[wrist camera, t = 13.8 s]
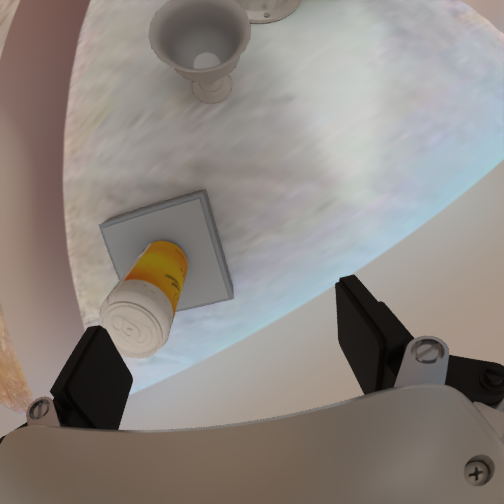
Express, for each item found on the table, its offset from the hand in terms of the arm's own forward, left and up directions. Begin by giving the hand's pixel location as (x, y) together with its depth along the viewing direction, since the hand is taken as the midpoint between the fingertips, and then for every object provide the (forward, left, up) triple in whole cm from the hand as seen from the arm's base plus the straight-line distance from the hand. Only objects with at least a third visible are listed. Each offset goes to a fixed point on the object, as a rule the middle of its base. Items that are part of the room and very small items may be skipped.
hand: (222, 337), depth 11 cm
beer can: (+4, -9, -24) cm, 26 cm away
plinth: (+4, -9, -28) cm, 30 cm away
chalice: (-16, +2, -28) cm, 32 cm away
